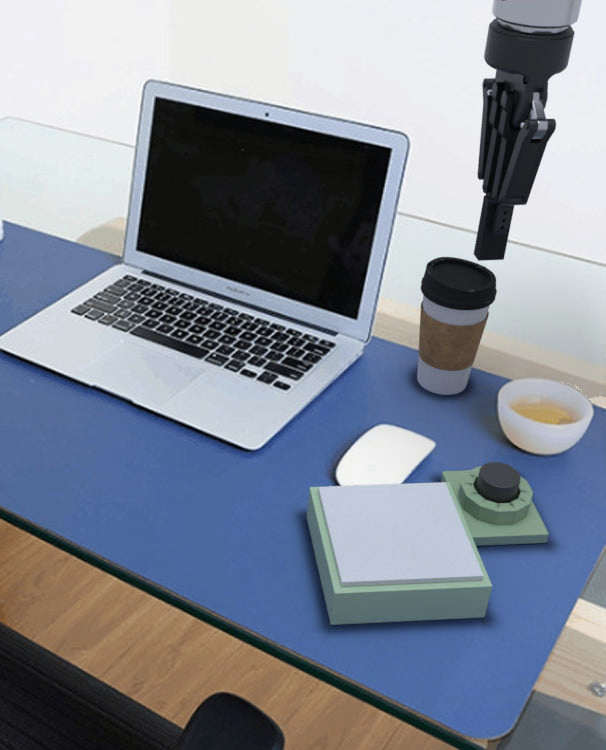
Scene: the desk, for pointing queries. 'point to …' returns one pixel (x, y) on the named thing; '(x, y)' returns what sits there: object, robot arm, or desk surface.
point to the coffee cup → (452, 322)
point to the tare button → (498, 482)
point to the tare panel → (496, 512)
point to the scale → (395, 554)
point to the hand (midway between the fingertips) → (488, 256)
